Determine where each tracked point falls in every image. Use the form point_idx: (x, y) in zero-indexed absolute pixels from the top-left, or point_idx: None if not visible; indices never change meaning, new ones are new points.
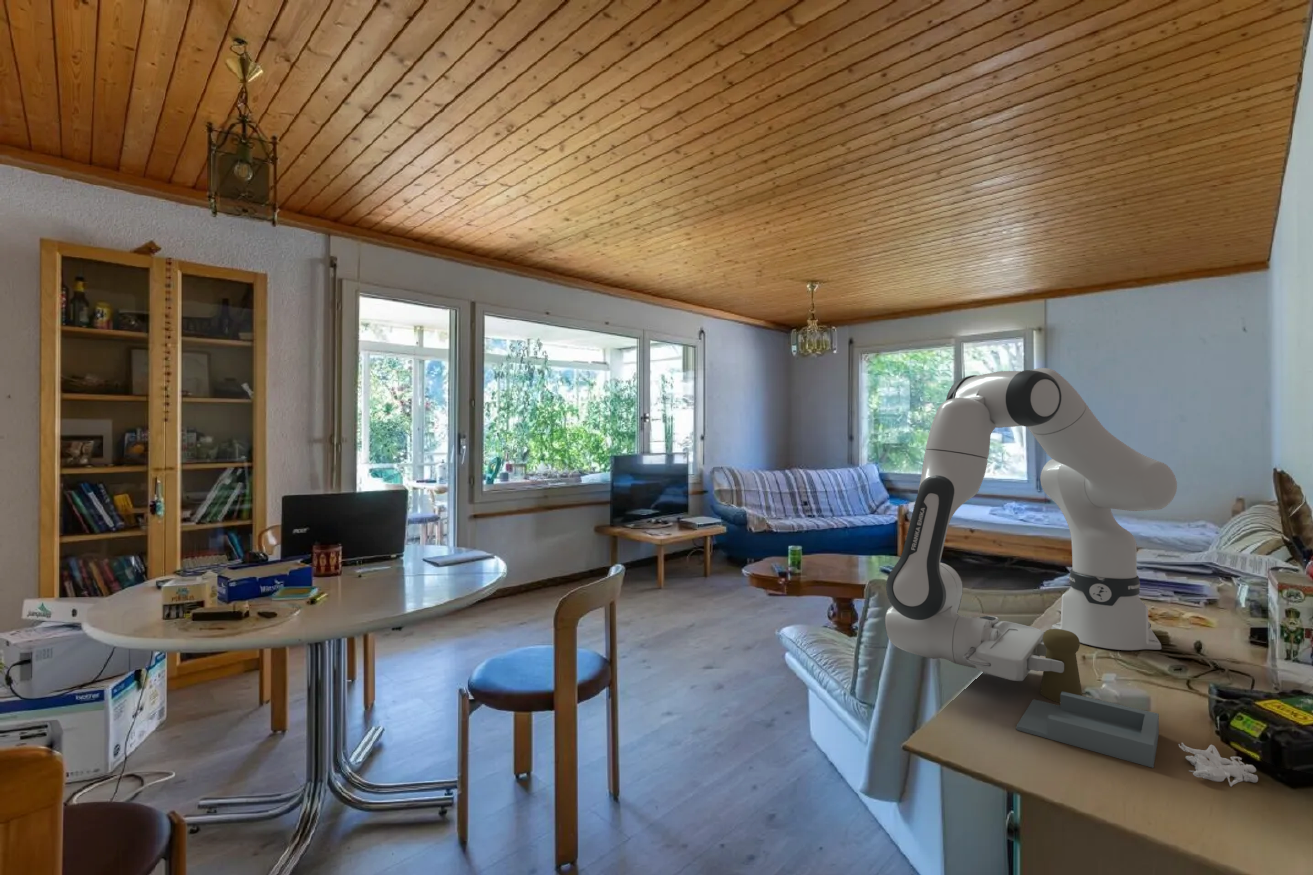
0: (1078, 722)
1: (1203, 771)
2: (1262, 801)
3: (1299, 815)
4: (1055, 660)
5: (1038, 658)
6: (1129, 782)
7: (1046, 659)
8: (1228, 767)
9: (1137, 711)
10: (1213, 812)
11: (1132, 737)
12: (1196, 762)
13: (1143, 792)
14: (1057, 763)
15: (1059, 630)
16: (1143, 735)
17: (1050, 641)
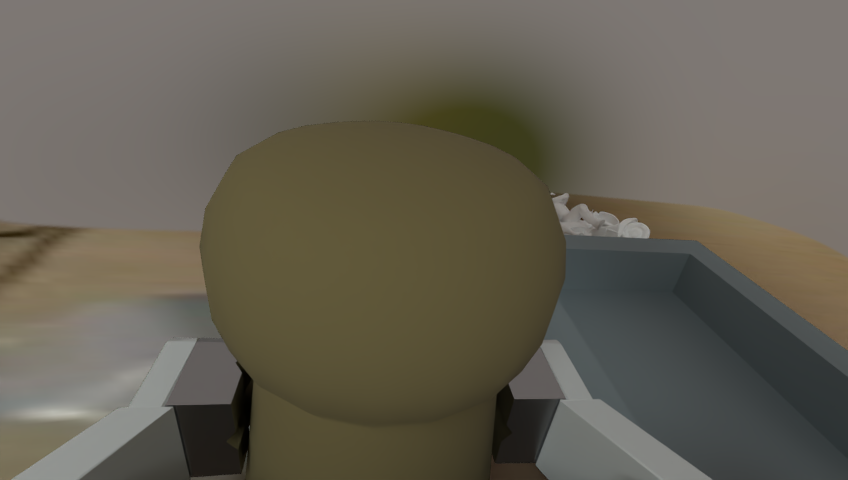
0: (815, 348)
1: (644, 224)
2: (603, 211)
3: (597, 197)
4: (563, 371)
5: (701, 478)
6: (795, 310)
7: (628, 421)
8: (568, 211)
9: None
10: (716, 242)
11: (711, 262)
12: (606, 231)
13: (796, 294)
14: None
15: (397, 142)
16: (668, 250)
17: (562, 279)
